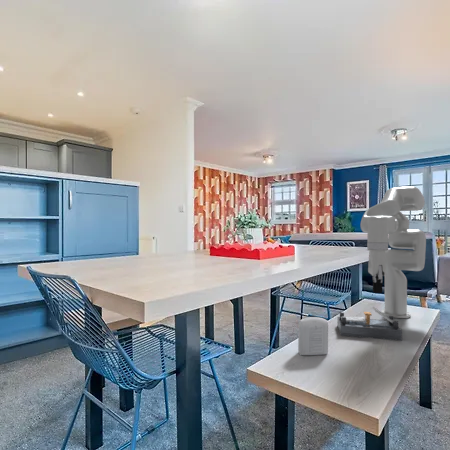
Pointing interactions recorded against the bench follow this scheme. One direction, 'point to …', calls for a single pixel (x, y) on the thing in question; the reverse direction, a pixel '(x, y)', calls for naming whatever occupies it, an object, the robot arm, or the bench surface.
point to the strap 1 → (354, 319)
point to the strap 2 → (383, 315)
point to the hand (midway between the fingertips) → (377, 292)
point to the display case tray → (370, 328)
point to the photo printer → (313, 336)
